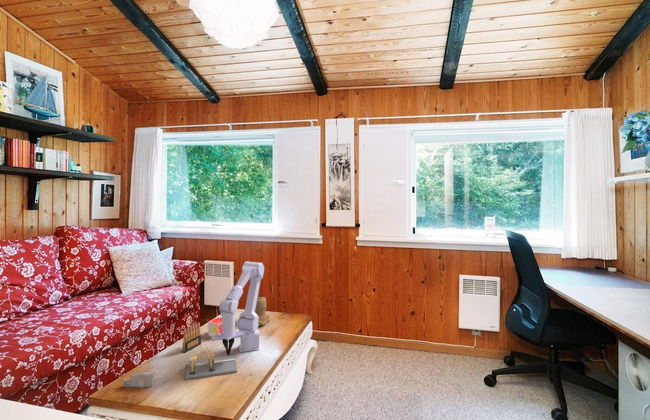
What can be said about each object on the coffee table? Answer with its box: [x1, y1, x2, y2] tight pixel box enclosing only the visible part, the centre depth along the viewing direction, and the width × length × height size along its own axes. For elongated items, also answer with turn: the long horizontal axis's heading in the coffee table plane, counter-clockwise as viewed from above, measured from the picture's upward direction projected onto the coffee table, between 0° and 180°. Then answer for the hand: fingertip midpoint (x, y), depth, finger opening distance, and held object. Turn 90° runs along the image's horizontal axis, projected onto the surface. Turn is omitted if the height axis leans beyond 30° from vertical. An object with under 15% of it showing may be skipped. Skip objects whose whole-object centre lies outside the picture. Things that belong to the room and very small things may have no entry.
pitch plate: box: [185, 354, 238, 381], centre depth 144 cm, size 21×14×5 cm, turn 109°
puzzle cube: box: [207, 316, 222, 338], centre depth 179 cm, size 8×8×8 cm
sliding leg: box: [207, 352, 215, 370], centre depth 144 cm, size 2×8×3 cm, turn 19°
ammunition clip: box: [181, 321, 202, 354], centre depth 163 cm, size 11×2×12 cm, turn 157°
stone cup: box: [255, 296, 271, 327], centre depth 198 cm, size 15×12×15 cm
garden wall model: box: [122, 371, 156, 388], centre depth 130 cm, size 12×2×6 cm, turn 91°
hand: (228, 353), depth 149 cm, fingers closed
